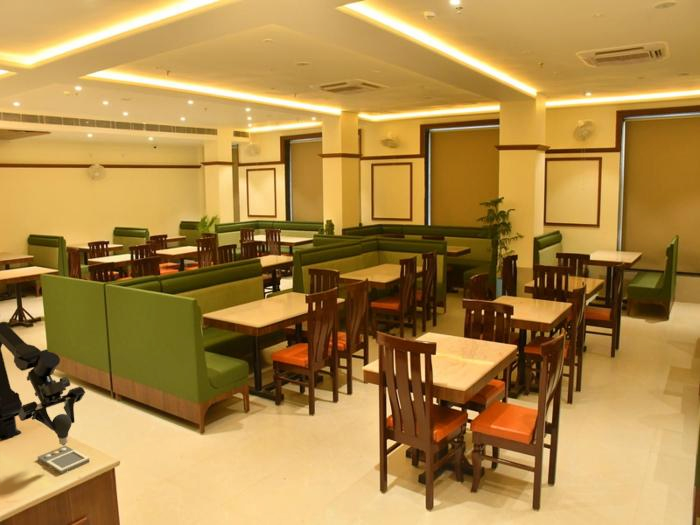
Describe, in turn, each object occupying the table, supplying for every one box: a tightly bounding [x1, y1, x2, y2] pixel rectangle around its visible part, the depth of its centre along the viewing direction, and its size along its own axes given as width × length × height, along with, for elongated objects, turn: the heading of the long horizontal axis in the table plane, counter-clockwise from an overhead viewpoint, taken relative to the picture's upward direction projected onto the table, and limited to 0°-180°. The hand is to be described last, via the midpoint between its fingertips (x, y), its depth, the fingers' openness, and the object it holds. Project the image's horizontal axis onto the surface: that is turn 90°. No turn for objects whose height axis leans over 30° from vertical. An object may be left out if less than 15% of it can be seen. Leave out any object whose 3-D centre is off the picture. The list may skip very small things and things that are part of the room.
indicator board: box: [37, 444, 90, 475], centre depth 183 cm, size 15×9×1 cm, turn 53°
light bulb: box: [51, 413, 73, 446], centre depth 179 cm, size 6×6×10 cm
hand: (64, 426), depth 178 cm, fingers closed on light bulb, 6 cm apart
